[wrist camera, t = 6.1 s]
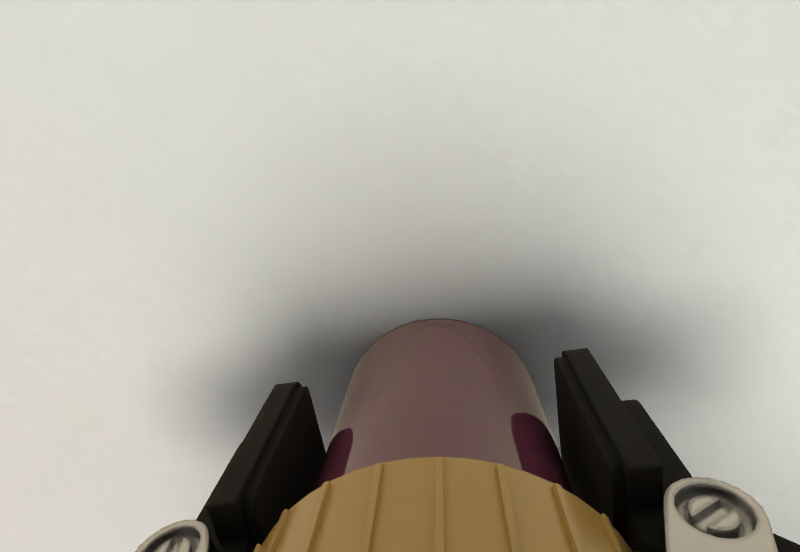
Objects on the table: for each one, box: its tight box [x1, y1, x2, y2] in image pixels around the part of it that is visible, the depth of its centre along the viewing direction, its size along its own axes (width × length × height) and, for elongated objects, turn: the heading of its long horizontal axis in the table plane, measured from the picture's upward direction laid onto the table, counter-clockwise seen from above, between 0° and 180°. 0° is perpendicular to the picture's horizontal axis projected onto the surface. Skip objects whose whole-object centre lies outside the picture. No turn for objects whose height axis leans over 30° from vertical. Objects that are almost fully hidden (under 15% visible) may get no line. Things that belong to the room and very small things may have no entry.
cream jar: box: [314, 319, 575, 495], centre depth 10 cm, size 5×5×8 cm
